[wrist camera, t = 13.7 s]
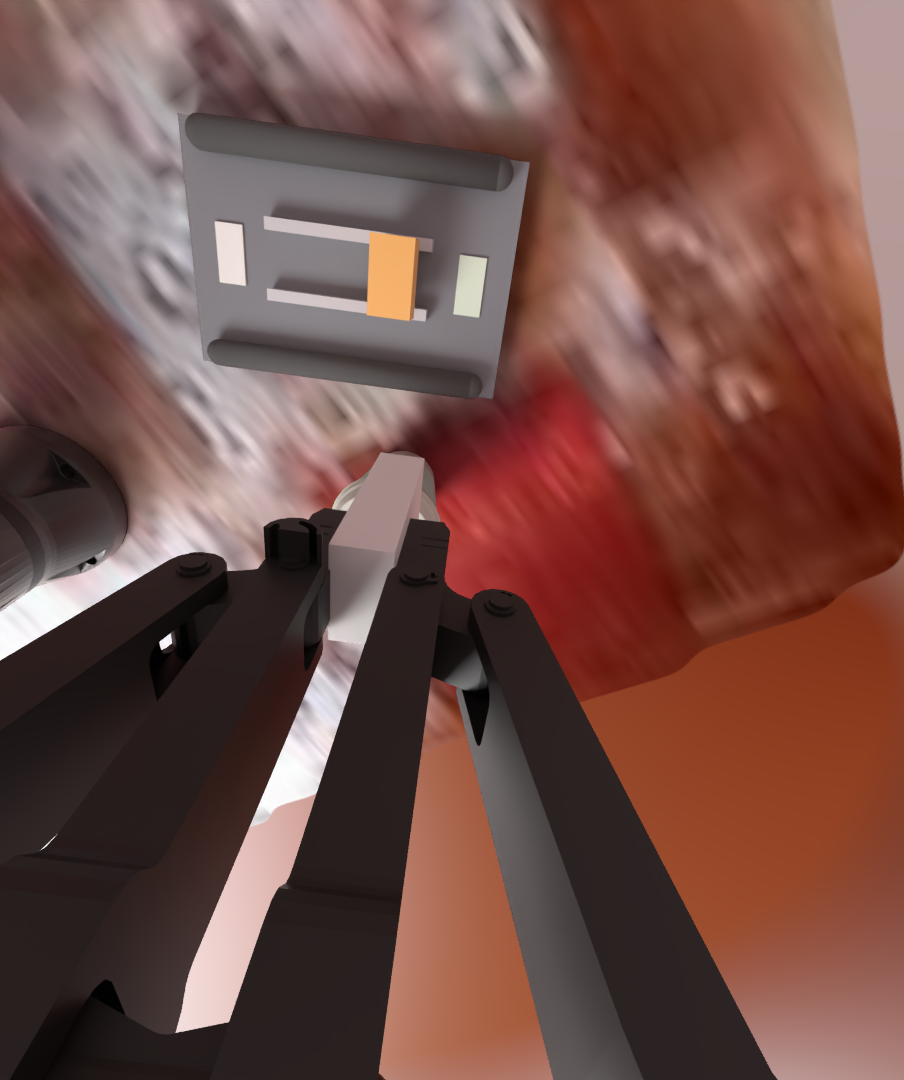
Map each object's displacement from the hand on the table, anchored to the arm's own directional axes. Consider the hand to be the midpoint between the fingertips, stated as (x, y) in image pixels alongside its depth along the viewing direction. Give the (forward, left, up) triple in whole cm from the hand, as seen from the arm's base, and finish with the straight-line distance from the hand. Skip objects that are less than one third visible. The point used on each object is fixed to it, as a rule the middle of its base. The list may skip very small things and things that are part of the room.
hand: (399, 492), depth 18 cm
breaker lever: (-4, +6, -26) cm, 27 cm away
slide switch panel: (-8, +6, -28) cm, 30 cm away
